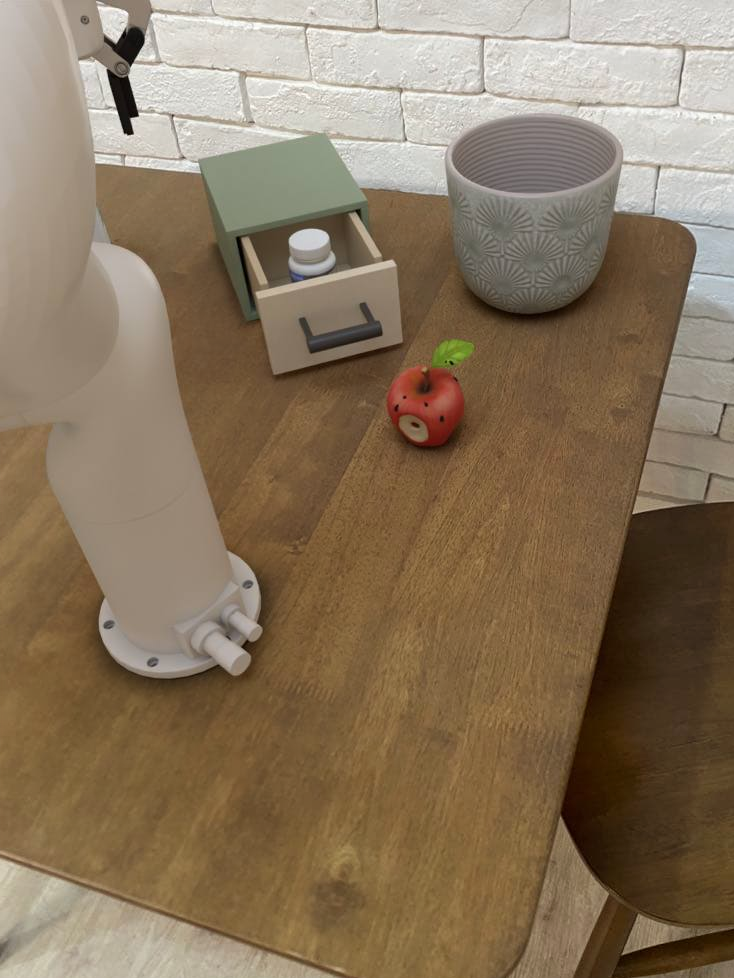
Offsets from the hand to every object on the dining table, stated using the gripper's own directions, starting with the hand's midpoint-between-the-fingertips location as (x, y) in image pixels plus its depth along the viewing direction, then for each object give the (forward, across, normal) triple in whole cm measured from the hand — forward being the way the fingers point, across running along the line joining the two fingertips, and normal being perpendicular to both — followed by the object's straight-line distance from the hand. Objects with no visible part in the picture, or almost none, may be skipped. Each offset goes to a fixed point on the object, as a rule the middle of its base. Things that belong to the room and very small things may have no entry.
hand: (62, 140), depth 69 cm
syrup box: (+28, -4, +28) cm, 39 cm away
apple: (+28, +24, -10) cm, 38 cm away
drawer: (+27, +18, +8) cm, 33 cm away
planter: (+28, +41, +8) cm, 50 cm away
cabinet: (+27, +18, +22) cm, 40 cm away
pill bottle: (+26, +18, +10) cm, 33 cm away
